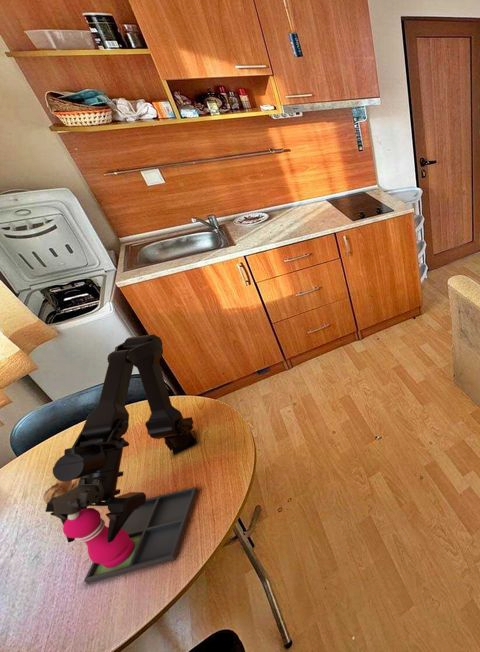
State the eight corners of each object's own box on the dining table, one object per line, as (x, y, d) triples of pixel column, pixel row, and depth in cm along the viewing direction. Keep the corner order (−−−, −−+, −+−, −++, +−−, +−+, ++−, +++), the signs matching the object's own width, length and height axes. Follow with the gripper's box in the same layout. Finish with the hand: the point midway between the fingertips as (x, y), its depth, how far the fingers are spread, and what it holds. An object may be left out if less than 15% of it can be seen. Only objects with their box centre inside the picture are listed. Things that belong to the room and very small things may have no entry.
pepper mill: (114, 539, 96) (66, 498, 84) (143, 537, 96) (100, 495, 85) (93, 572, 90) (39, 532, 78) (124, 568, 90) (75, 529, 79)
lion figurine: (81, 509, 103) (61, 492, 98) (55, 520, 100) (33, 503, 95) (89, 468, 113) (71, 451, 108) (66, 478, 110) (47, 460, 105)
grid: (124, 508, 103) (120, 505, 102) (198, 490, 107) (195, 487, 106) (87, 583, 88) (83, 580, 87) (175, 559, 92) (172, 556, 91)
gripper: (25, 479, 81) (8, 558, 78) (109, 479, 81) (95, 559, 77) (78, 466, 92) (65, 535, 89) (152, 467, 91) (141, 536, 88)
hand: (90, 541), depth 86 cm, fingers open, 9 cm apart
